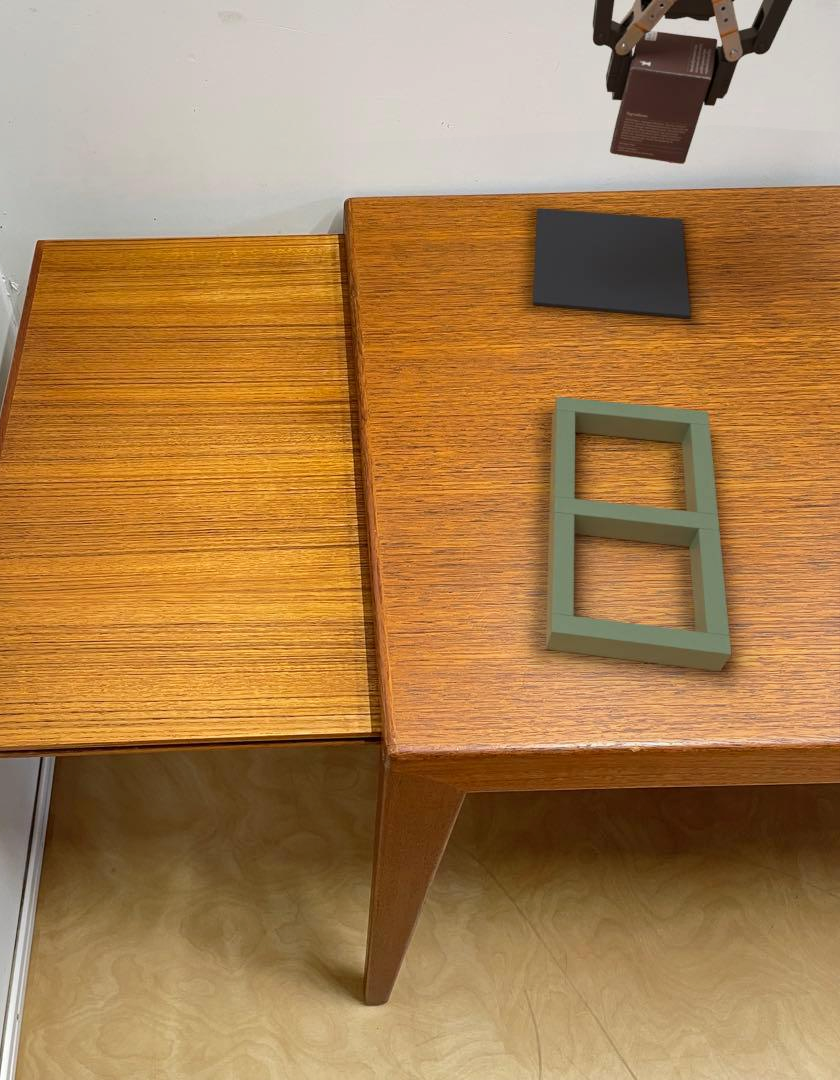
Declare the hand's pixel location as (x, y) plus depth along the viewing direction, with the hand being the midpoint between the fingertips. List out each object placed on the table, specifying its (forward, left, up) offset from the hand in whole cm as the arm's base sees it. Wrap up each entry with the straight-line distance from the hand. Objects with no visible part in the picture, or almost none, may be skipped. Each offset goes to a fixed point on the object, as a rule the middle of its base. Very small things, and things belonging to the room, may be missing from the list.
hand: (661, 96), depth 78 cm
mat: (0, -3, -18) cm, 18 cm away
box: (0, 0, -4) cm, 4 cm away
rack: (-1, +29, -18) cm, 35 cm away
